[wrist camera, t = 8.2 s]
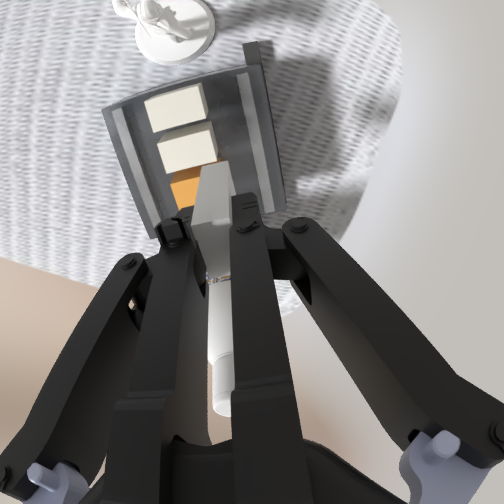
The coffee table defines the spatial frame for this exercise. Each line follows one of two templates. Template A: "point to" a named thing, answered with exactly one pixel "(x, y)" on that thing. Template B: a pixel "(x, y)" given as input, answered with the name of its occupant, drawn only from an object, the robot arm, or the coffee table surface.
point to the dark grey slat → (254, 58)
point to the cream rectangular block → (177, 107)
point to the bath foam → (221, 343)
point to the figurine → (170, 28)
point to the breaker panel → (226, 133)
